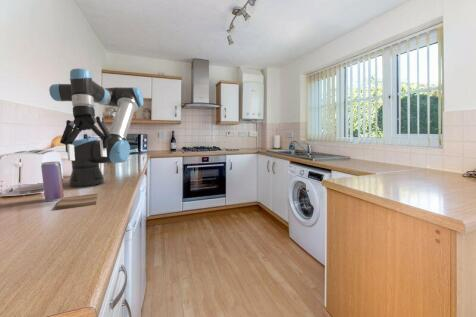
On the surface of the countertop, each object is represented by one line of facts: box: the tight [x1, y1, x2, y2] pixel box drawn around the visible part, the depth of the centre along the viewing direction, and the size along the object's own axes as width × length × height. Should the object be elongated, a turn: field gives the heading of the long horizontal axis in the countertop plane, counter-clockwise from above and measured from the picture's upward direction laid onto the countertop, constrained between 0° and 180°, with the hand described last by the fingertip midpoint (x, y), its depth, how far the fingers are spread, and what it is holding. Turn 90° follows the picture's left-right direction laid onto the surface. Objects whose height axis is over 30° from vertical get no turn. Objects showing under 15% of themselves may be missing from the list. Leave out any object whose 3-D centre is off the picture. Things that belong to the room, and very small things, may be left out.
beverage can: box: [40, 161, 65, 202], centre depth 92 cm, size 6×6×15 cm
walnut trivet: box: [55, 193, 99, 211], centre depth 88 cm, size 12×12×1 cm
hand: (87, 158), depth 94 cm, fingers open, 13 cm apart
